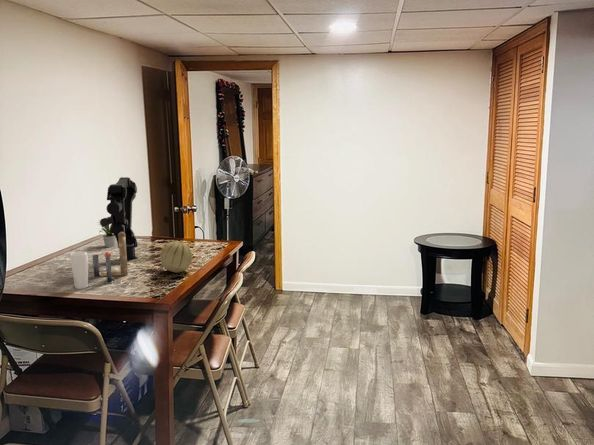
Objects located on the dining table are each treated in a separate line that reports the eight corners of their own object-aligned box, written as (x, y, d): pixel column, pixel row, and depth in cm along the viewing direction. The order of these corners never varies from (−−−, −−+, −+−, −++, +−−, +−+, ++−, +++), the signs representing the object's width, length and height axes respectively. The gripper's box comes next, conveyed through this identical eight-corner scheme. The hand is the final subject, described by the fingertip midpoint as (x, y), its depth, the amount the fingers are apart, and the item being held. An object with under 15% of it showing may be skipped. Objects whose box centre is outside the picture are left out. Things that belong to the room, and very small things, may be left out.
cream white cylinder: (76, 285, 226) (73, 251, 223) (92, 284, 226) (89, 251, 223) (70, 290, 219) (67, 255, 216) (87, 289, 220) (84, 255, 217)
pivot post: (97, 274, 241) (96, 253, 239) (104, 276, 238) (102, 255, 237) (89, 276, 237) (87, 255, 235) (95, 278, 235) (94, 257, 233)
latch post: (110, 280, 233) (108, 250, 230) (116, 281, 230) (114, 251, 228) (102, 282, 229) (100, 252, 227) (108, 284, 227) (106, 253, 224)
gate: (100, 276, 237) (97, 233, 233) (101, 274, 240) (98, 231, 236) (127, 275, 239) (124, 232, 235) (128, 273, 242) (125, 230, 238)
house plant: (88, 248, 289) (86, 219, 286) (104, 242, 302) (102, 214, 299) (110, 250, 285) (108, 220, 282) (125, 244, 298) (124, 216, 295)
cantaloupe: (154, 272, 244) (152, 241, 241) (177, 265, 256) (176, 235, 253) (176, 278, 236) (175, 246, 233) (199, 270, 248) (198, 239, 245)
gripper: (103, 208, 255) (105, 239, 258) (97, 215, 237) (99, 248, 240) (127, 207, 257) (129, 238, 260) (122, 214, 239) (124, 247, 242)
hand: (120, 243), depth 251 cm, fingers open, 7 cm apart
